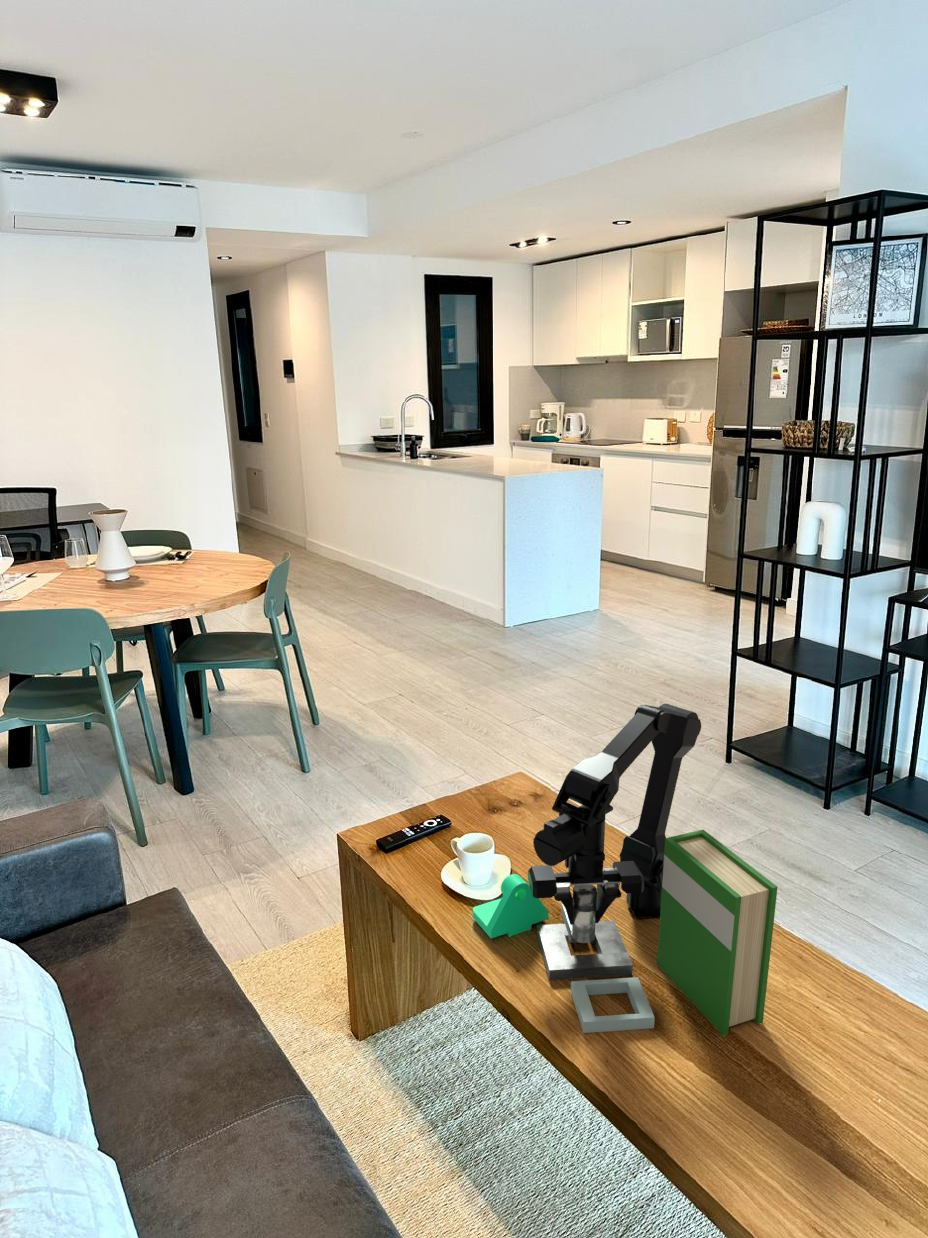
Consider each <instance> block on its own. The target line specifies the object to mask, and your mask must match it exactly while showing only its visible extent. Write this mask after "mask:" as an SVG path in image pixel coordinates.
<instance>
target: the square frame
mask: <svg viewBox="0 0 928 1238" xmlns="http://www.w3.org/2000/svg"><path fill="white" fill-rule="evenodd" d="M570 993H571V997H572V1000H573V1003H574V1007H575V1011H576V1014H577V1016H578V1017H577V1018H578V1021H579V1023H580V1027H581V1030H582V1033H583V1034H588V1033H589V1034H590V1033H605V1032H615V1031H616V1032H619V1031H633V1030H635V1031H636V1030H646V1029H655V1019H656V1018H655V1015H654V1012H653V1010H652V1008H651V1005H650V1002H649V1001H648V998H647V996H646V993H645V991H644V988H643V985H642V984H641V981H640V979H639V977H635V976H634V977H622V978H608V979H607V978H606V979H605V978H604V979H590V980H577V981H576V980H574V981H570ZM611 994H613V995H614V994H627V996H628V1000H629V1001H630V1004H631V1006H632V1010H633V1012H634V1013H627V1014H626V1013H625V1014H615V1015H614V1014H613V1015H611V1014H610V1015H598V1016H596V1015H595V1012H594V1009H593V1007H592V1006H593V1005H592V1003H591V1000H590V997H589V996H598V995H611Z"/></svg>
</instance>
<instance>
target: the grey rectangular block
mask: <svg viewBox="0 0 928 1238" xmlns="http://www.w3.org/2000/svg"><path fill="white" fill-rule="evenodd" d="M561 918H562V921H563V924H565V925H566V929H567V932H568V935H569V940H568V941H569V942H570V944H576V943H580V942H577V941H575V940H574V939H573V938H572V936H571V932H572V925H570V922H569V919H568V915H567V912H566V909H565V907H564V905H563V904H562V903H561Z"/></svg>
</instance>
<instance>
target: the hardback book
mask: <svg viewBox="0 0 928 1238" xmlns="http://www.w3.org/2000/svg"><path fill="white" fill-rule="evenodd" d="M777 895H778V885H776V884H775V883H773V881H770V879H768V878H767V877H766V876H764V875H763V874H762V873H761V872H760V871H758V870H756V869H755V868H754V867H753V866H752V865H750V864H748V863H747V862H746V861H745V860H744V859H742V858H741V857H739V856H738V855H737V854H736V853H735V852H733V850H730V849H729V848H728V847H727V846H725V845H724V844H723V843H722V842H720V841H719V840H718V839H716V838H715V837H714V836H712V835H711V834H710V833H708V832H707V831H706V830H705V829H700V830H695V831H691V832H687V833H682V834H677V835H673V836H669V837H666V838H665V850H664V865H663V880H662V895H661V910H660V917H659V926H658V943H657V957H656V965H657V966H658V967H659V968H660V969H661V970H662V972H663V973H664V974H665V975H666V976H667V977H668V978H669V979H670V980H671V981H672V983H674V984H675V985H676V987H677V988H678V989H679V990H680V991H681V992H682V993H683V995H685V996H686V998H687V999H688V1000H689V1001H690V1002H691V1003H692V1004H693V1005H694V1006H695V1007H696V1009H697V1010H698V1011H700V1013H701V1014H702V1015H703V1016H704V1017H705V1018H706V1019H707V1020H708V1022H709V1023H710V1024H711V1025H712V1026H713V1027H714V1028H715V1029H716V1031H718V1033H719V1034H720V1035H721V1036H722V1037H725V1036H728V1035H729V1029H730V1027H732V1026H736V1025H739V1024H742V1023H745V1022H748V1021H751V1020H752V1021H753V1022H754V1023H755V1024H757V1025H758V1026H759V1025H761V1024H764V1023H763V1022H764V1016H765V1007H766V996H767V988H768V978H769V969H770V961H771V960H770V959H771V951H772V941H773V934H774V933H773V932H774V924H775V915H776V907H777V906H776V904H777Z"/></svg>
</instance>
